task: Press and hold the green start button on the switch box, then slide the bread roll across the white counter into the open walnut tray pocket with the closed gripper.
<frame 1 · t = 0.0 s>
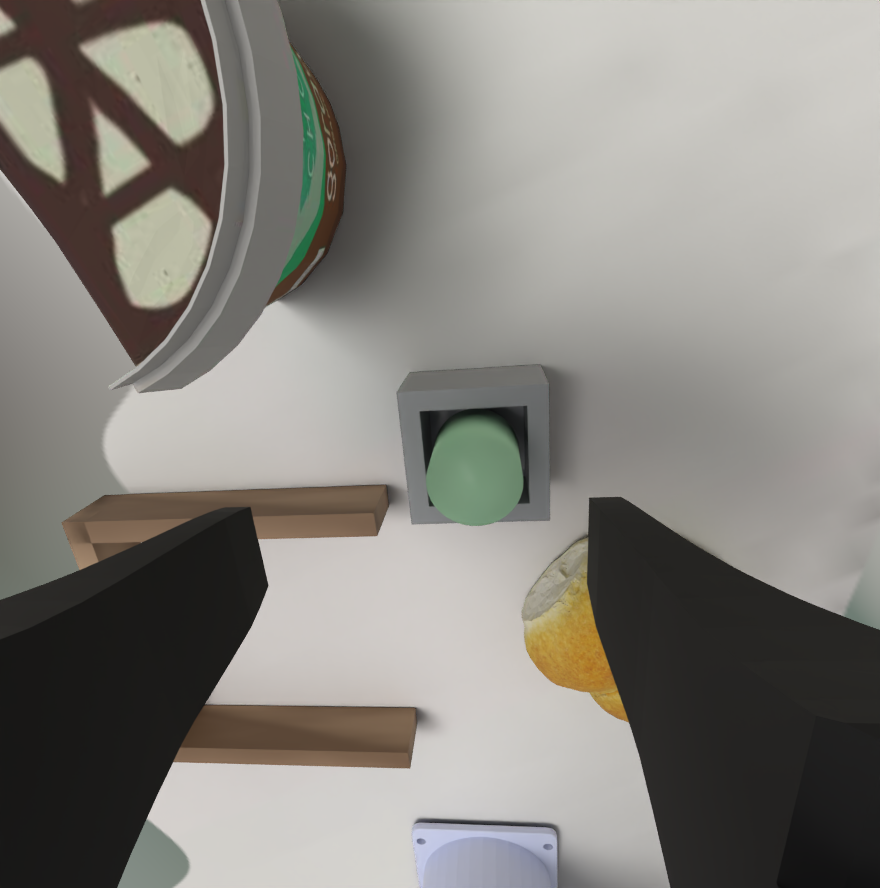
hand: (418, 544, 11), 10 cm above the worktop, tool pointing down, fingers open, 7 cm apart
button housing: (477, 430, 20), on the worktop
bread roll: (620, 606, 23), on the worktop
food container: (284, 133, 18), on the worktop
walnut pocket: (280, 616, 25), on the worktop
start button: (475, 464, 17), point 4 cm above the worktop, slide at 0.0 cm
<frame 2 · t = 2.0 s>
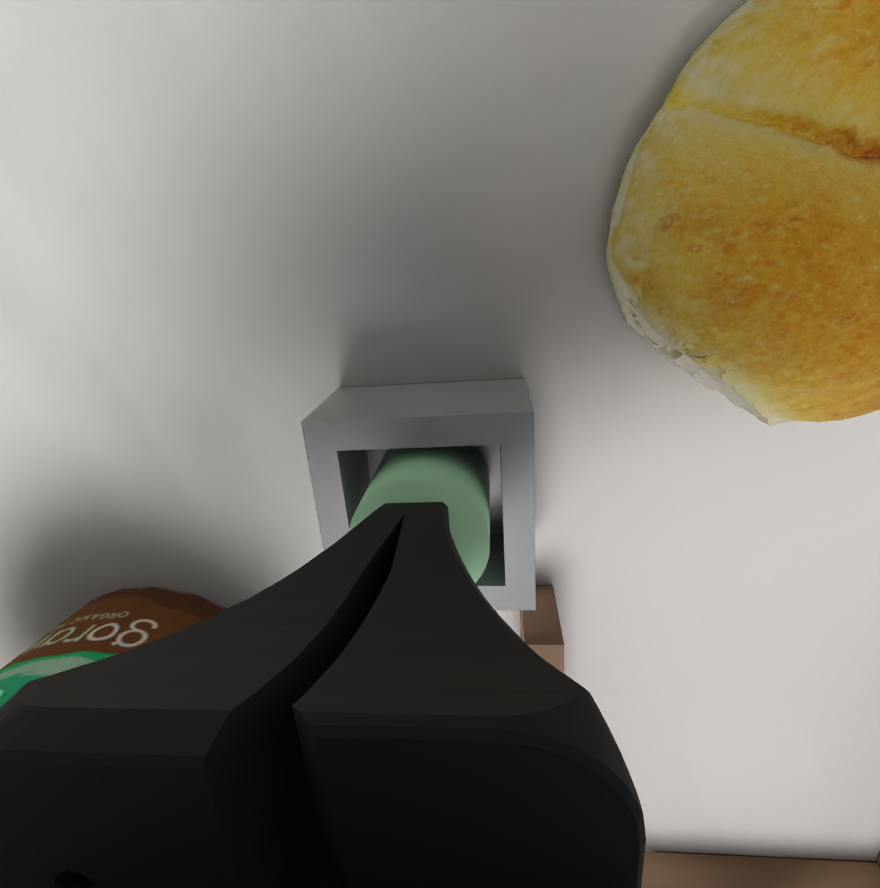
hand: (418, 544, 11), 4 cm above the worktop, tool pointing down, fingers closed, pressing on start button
button housing: (436, 468, 15), on the worktop
bread roll: (798, 215, 12), on the worktop
food container: (141, 632, 18), on the worktop
walnut pocket: (728, 736, 17), on the worktop
start button: (426, 511, 12), point 3 cm above the worktop, slide at 1.0 cm, touching gripper
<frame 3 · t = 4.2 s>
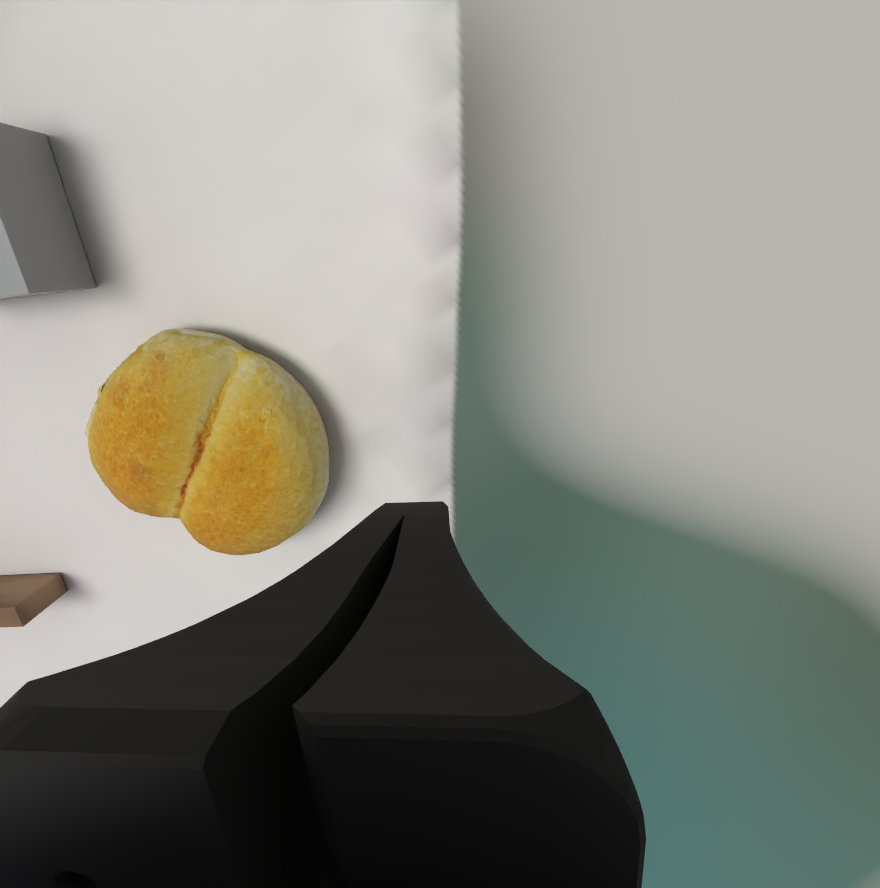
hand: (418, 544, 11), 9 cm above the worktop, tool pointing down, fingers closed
button housing: (10, 223, 19), on the worktop
bread roll: (229, 435, 21), on the worktop
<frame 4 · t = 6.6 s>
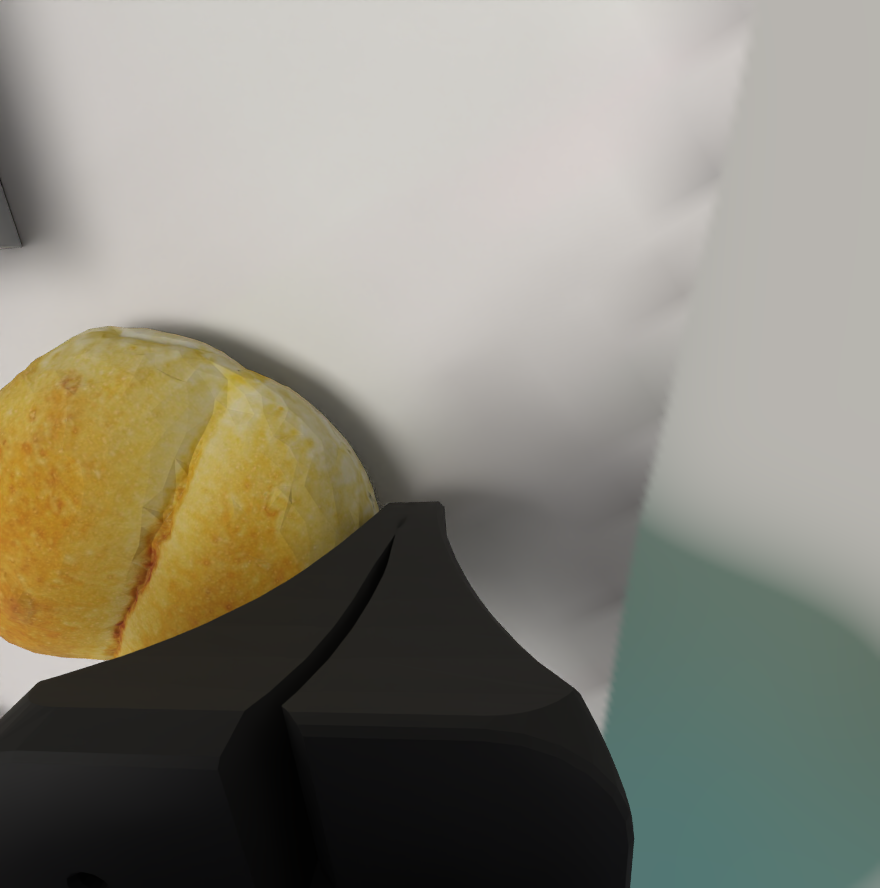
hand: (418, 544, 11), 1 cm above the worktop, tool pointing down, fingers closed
bread roll: (211, 506, 13), on the worktop, touching gripper
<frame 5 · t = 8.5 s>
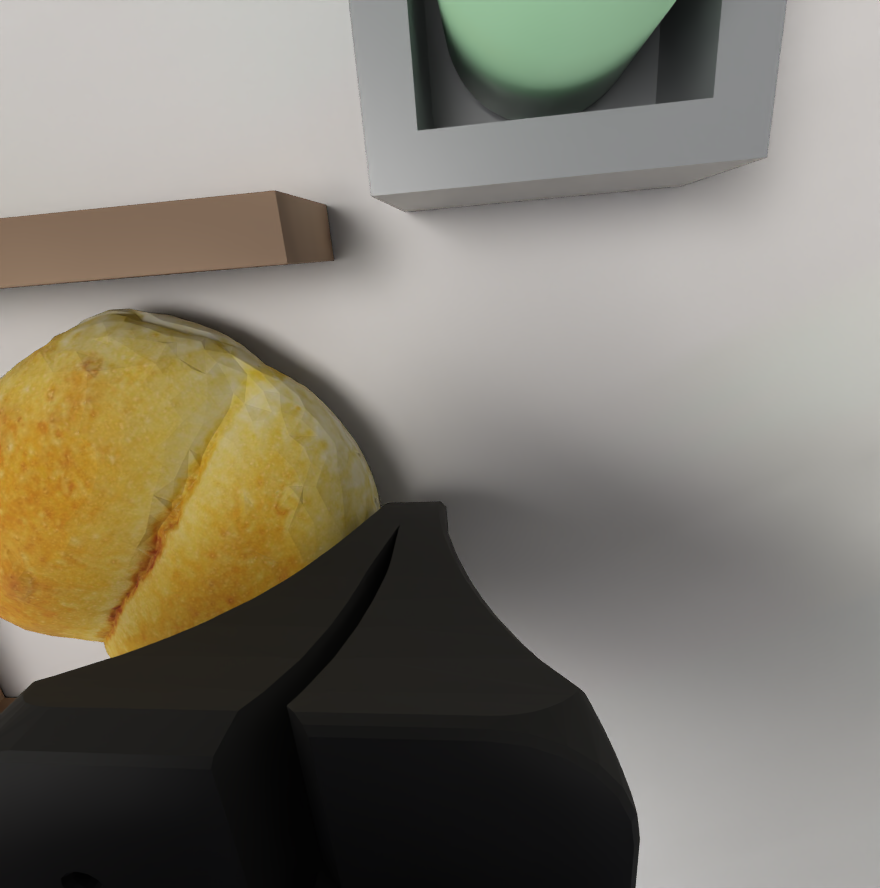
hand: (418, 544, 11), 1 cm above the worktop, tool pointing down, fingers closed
button housing: (537, 34, 9), on the worktop
bread roll: (212, 494, 13), on the worktop, touching gripper
walnut pocket: (135, 524, 13), on the worktop
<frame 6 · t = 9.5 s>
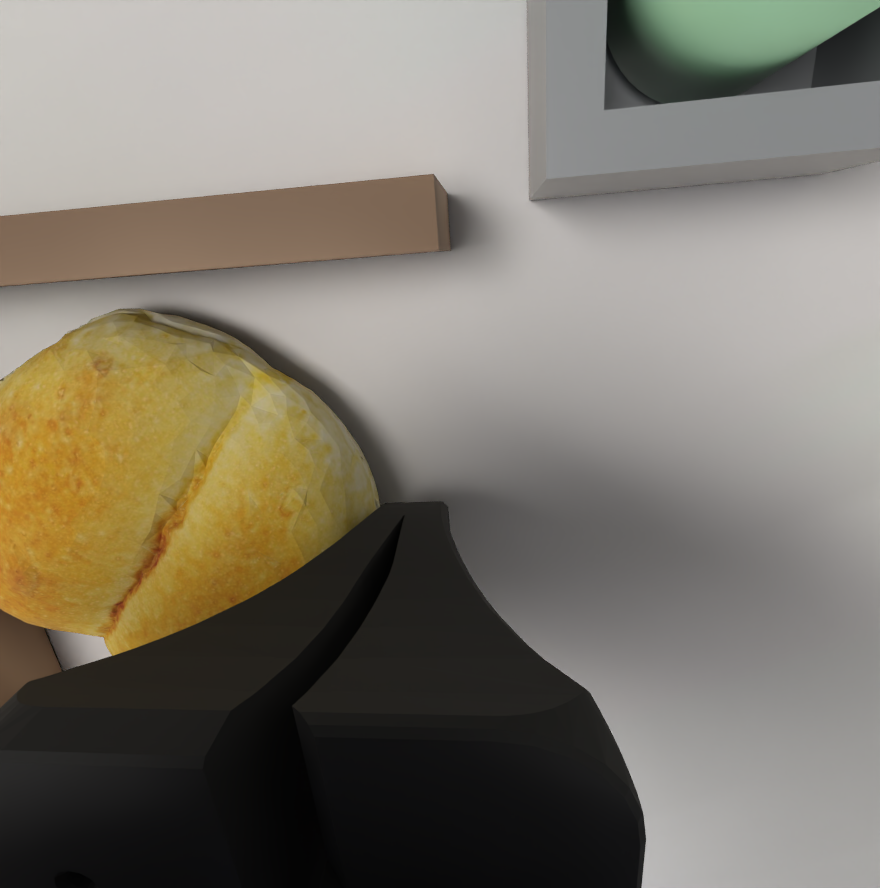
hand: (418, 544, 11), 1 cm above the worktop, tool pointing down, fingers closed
button housing: (683, 16, 8), on the worktop
bread roll: (213, 493, 13), on the worktop
walnut pocket: (221, 521, 12), on the worktop
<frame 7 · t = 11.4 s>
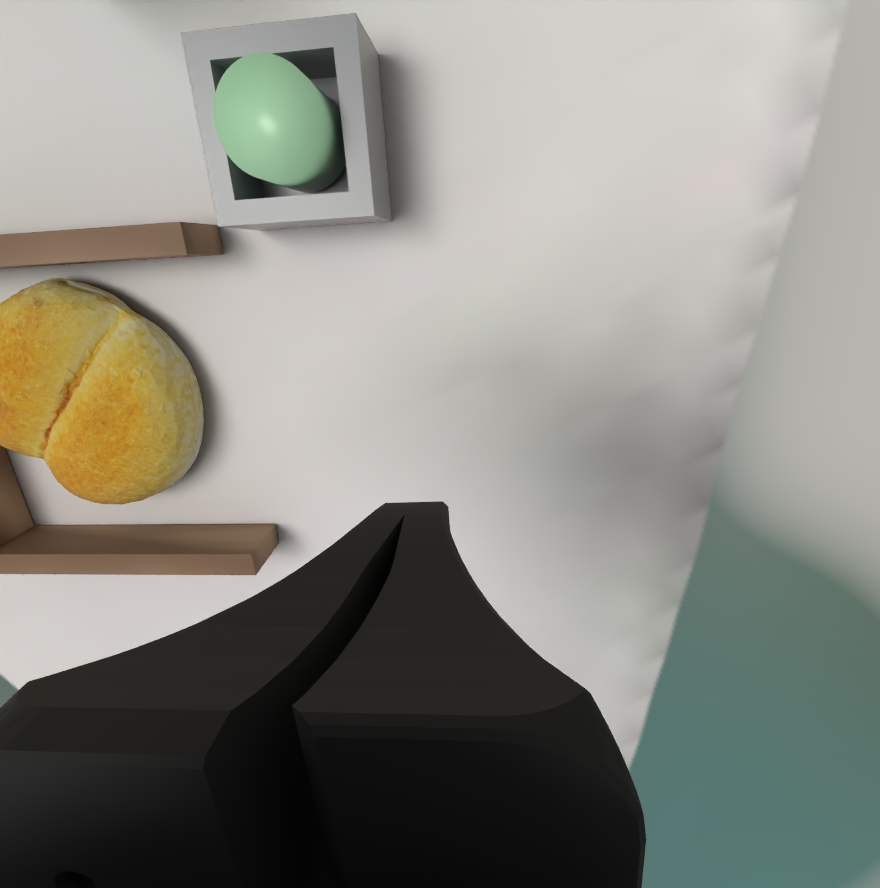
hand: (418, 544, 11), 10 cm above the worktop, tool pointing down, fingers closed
button housing: (314, 147, 18), on the worktop
bread roll: (113, 388, 22), on the worktop
walnut pocket: (117, 406, 22), on the worktop
start button: (287, 131, 15), point 3 cm above the worktop, slide at 1.0 cm
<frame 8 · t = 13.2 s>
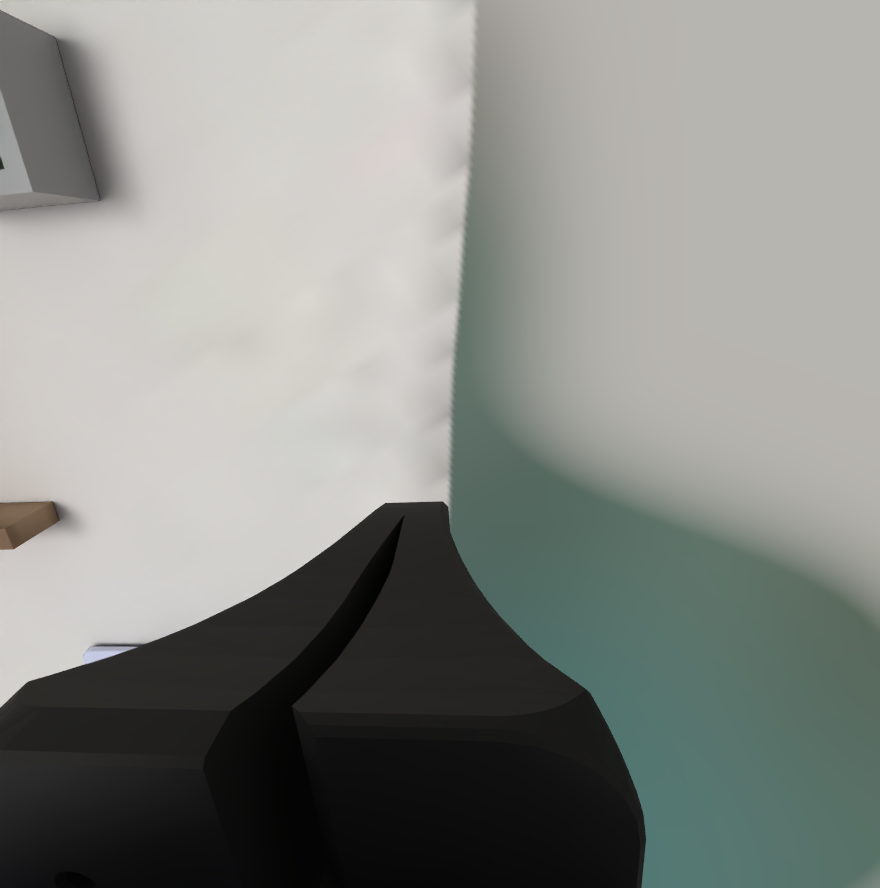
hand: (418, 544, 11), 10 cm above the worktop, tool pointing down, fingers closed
button housing: (14, 130, 18), on the worktop
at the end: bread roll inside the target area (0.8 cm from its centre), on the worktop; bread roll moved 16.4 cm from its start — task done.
